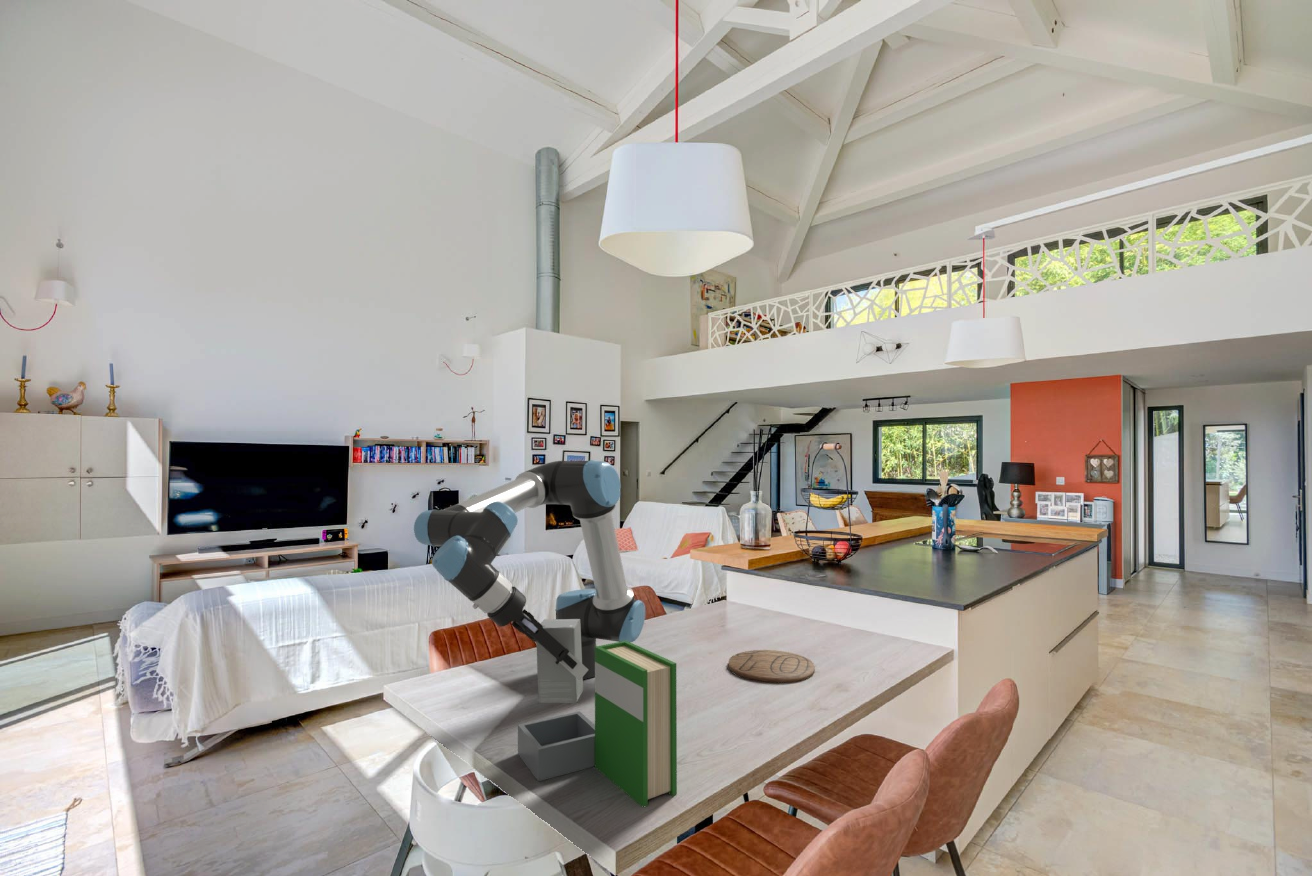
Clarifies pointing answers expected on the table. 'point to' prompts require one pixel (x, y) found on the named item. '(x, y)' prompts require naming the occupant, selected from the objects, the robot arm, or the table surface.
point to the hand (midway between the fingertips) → (573, 667)
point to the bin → (557, 745)
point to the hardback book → (636, 720)
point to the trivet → (771, 666)
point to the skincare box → (556, 678)
